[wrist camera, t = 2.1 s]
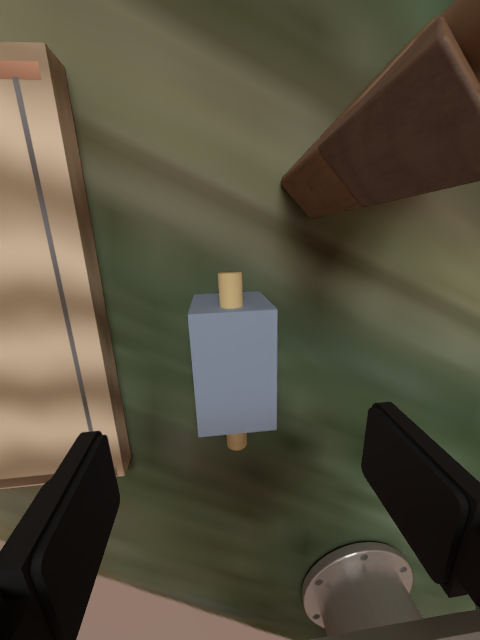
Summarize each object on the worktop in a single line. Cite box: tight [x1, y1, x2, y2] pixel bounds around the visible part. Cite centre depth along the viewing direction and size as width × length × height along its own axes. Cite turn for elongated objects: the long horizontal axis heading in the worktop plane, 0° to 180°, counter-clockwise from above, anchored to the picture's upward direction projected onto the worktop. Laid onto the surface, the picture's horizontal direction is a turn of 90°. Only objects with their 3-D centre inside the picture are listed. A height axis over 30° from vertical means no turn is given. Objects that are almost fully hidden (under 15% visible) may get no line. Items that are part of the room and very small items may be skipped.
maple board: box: [0, 42, 131, 489], centre depth 19 cm, size 28×12×2 cm, turn 2°
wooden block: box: [281, 0, 480, 218], centre depth 10 cm, size 4×11×18 cm, turn 135°
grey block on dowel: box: [188, 271, 277, 451], centre depth 19 cm, size 12×5×6 cm, turn 2°
